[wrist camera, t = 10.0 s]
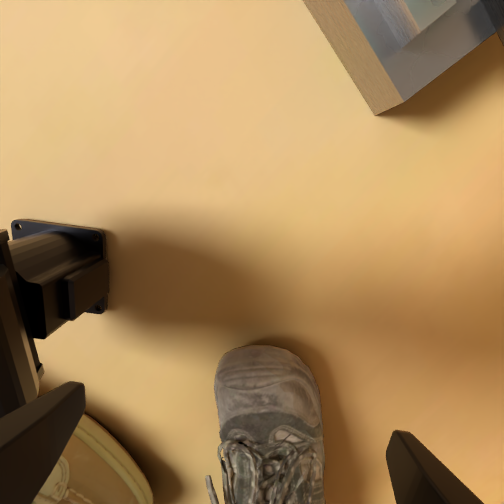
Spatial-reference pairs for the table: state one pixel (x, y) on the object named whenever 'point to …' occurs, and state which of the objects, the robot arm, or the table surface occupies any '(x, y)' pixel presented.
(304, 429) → the hiking shoe
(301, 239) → the table surface
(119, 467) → the boat shoe
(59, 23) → the table surface
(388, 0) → the block
